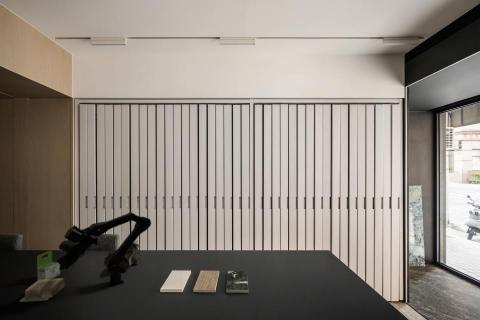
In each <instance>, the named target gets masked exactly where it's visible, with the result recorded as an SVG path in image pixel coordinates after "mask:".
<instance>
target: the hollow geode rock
mask: <svg viewBox="0 0 480 320" xmlns="http://www.w3.org/2000/svg"><path fill="white" fill-rule="evenodd" d="M138 242H139V240H135V242H134V243H133V244H132V245H131V247H130V248H129V249H128V250H127V252H126V253H125V254H124V256H123V257H122V261H121V263H120V266H121V267H122V268H123V272H125V271H126V270H129V268H130V267H131V266H132V265H134V264H139V262H140V260H141V257H142V256H143V253H142V251H141V250H140V249H139V247H140V244H139V243H138Z"/></svg>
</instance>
